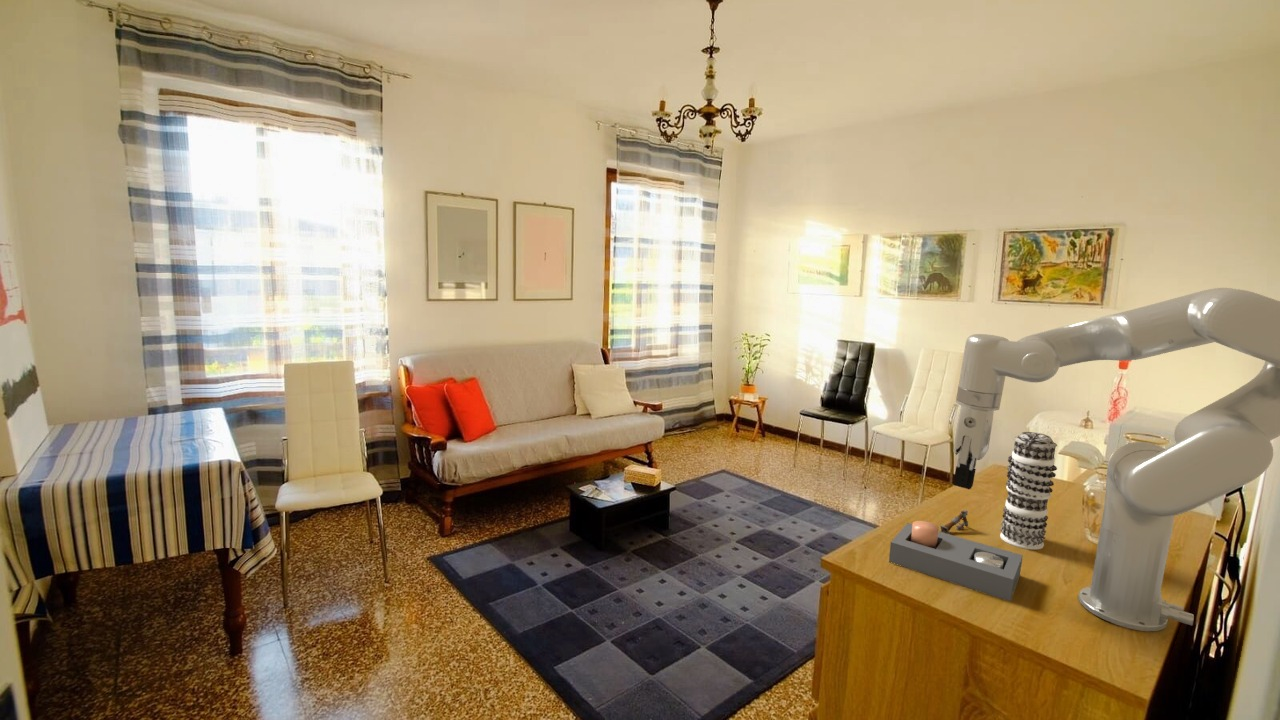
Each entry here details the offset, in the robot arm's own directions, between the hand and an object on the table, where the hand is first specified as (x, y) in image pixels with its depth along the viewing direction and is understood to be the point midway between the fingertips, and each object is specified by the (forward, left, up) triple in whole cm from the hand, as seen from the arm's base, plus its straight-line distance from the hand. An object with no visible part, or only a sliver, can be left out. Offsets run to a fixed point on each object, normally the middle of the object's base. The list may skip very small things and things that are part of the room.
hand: (962, 486), depth 118 cm
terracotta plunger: (+6, 0, -15) cm, 16 cm away
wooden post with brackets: (+4, -20, -19) cm, 27 cm away
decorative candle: (-9, -24, -18) cm, 32 cm away
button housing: (0, 0, -18) cm, 18 cm away
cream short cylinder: (-6, 0, -18) cm, 19 cm away
